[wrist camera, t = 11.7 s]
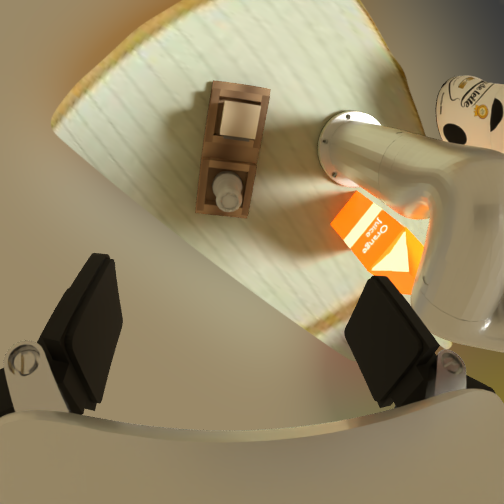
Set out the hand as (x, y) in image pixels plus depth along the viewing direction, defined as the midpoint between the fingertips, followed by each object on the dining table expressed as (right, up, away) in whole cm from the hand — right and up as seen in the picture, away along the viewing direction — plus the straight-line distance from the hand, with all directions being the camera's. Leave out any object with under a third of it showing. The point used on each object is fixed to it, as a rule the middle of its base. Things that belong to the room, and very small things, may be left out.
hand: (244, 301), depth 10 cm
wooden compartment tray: (-3, +16, +29) cm, 33 cm away
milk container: (+40, +28, +28) cm, 57 cm away
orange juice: (+19, +7, +37) cm, 42 cm away
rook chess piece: (-3, +12, +30) cm, 33 cm away
